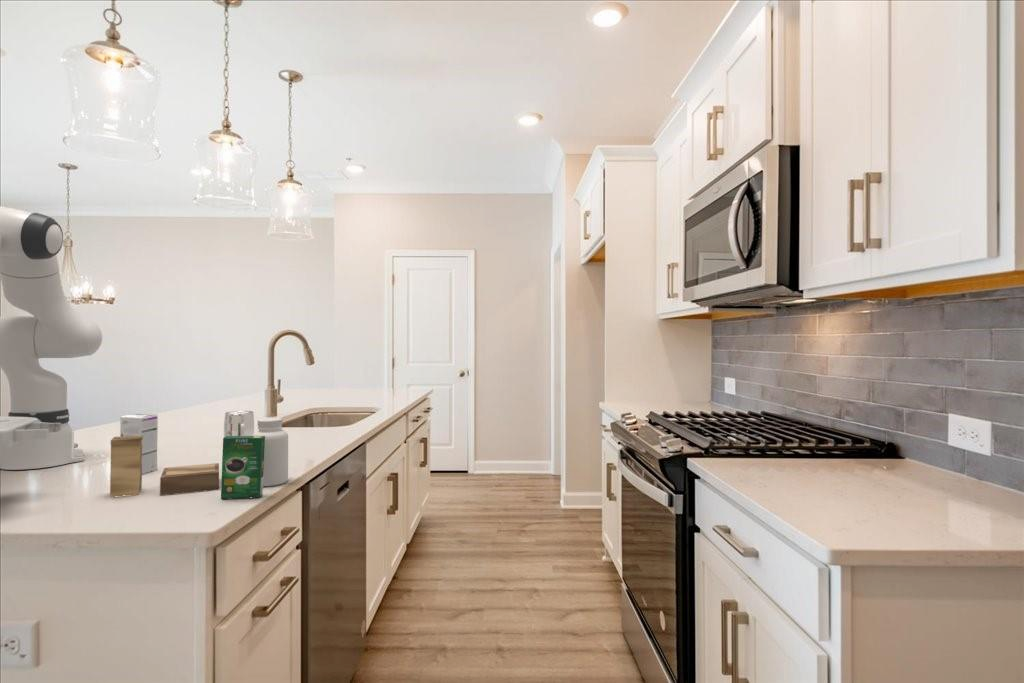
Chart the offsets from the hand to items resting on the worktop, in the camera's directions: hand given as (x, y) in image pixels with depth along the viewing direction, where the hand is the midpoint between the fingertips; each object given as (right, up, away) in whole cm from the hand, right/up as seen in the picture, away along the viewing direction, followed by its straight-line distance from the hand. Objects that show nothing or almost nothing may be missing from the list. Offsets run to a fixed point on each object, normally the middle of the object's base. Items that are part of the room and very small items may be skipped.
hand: (54, 430), depth 108 cm
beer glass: (+24, -15, +27) cm, 39 cm away
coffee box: (+36, -15, +5) cm, 40 cm away
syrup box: (0, -15, +24) cm, 29 cm away
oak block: (+10, -15, +6) cm, 19 cm away
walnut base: (+21, -15, +12) cm, 28 cm away
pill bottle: (+37, -15, +16) cm, 43 cm away
